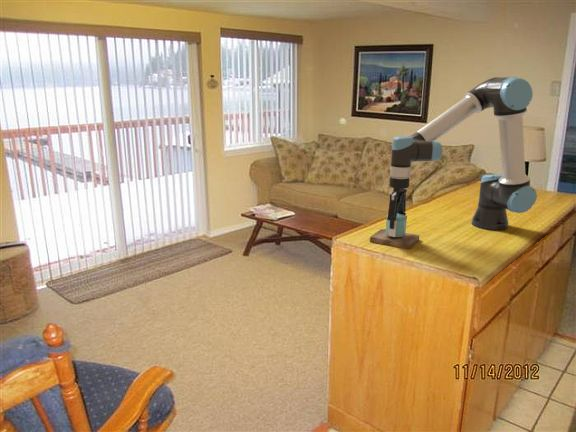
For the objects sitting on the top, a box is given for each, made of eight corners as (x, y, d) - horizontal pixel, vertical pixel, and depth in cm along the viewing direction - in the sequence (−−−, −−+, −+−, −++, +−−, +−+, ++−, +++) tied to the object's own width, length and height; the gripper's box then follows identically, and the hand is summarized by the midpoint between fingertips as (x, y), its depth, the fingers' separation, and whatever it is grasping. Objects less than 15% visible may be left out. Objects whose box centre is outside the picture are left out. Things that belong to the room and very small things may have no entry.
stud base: (419, 239, 195) (420, 220, 193) (409, 249, 184) (411, 229, 182) (381, 233, 203) (382, 214, 201) (369, 241, 192) (371, 222, 190)
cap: (407, 233, 194) (409, 215, 192) (401, 238, 188) (403, 219, 185) (389, 229, 198) (390, 212, 196) (382, 234, 191) (383, 216, 189)
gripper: (398, 171, 197) (394, 225, 203) (381, 180, 180) (377, 238, 186) (416, 173, 193) (412, 228, 199) (401, 182, 176) (396, 242, 182)
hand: (395, 233), depth 193 cm, fingers closed on cap, 8 cm apart
